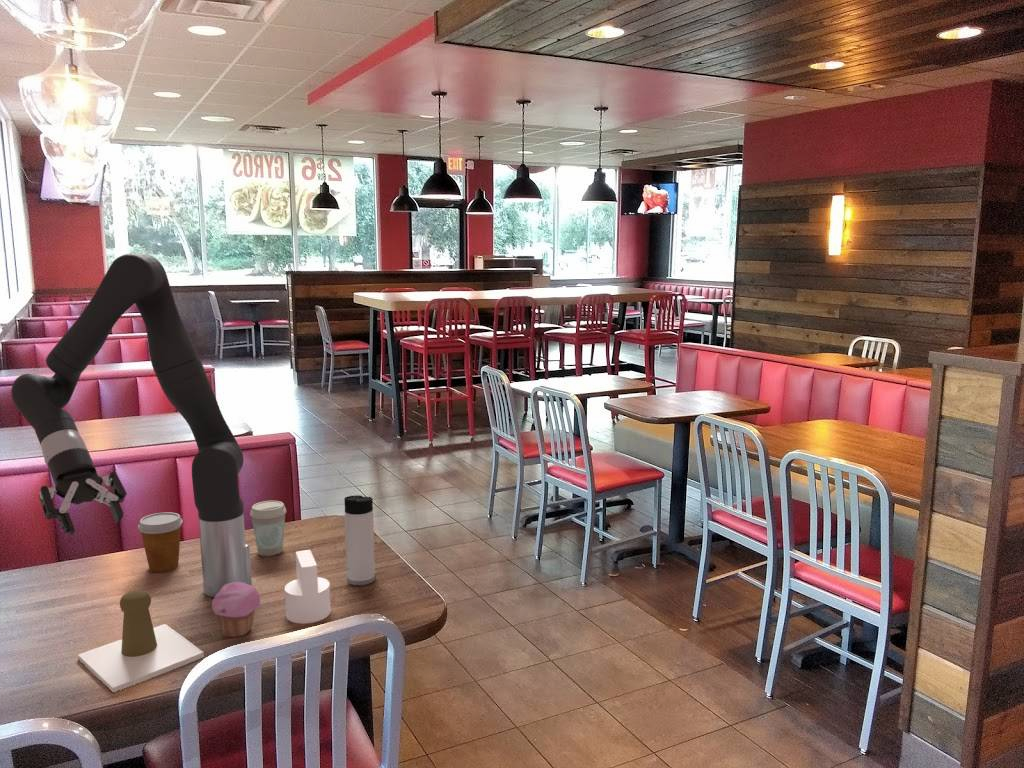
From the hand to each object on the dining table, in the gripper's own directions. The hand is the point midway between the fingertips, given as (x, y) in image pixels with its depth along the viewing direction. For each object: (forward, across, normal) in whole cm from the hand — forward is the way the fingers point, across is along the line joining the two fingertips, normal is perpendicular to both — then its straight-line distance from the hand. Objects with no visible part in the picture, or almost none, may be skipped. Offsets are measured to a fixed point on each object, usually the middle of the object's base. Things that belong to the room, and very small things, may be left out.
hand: (96, 526), depth 149 cm
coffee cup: (+7, +44, +25) cm, 50 cm away
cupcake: (+29, +17, +2) cm, 34 cm away
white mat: (+26, 0, +5) cm, 26 cm away
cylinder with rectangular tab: (+32, +31, 0) cm, 44 cm away
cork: (+24, +1, +6) cm, 25 cm away
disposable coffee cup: (-1, +22, +32) cm, 38 cm away
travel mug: (+28, +48, +4) cm, 56 cm away
